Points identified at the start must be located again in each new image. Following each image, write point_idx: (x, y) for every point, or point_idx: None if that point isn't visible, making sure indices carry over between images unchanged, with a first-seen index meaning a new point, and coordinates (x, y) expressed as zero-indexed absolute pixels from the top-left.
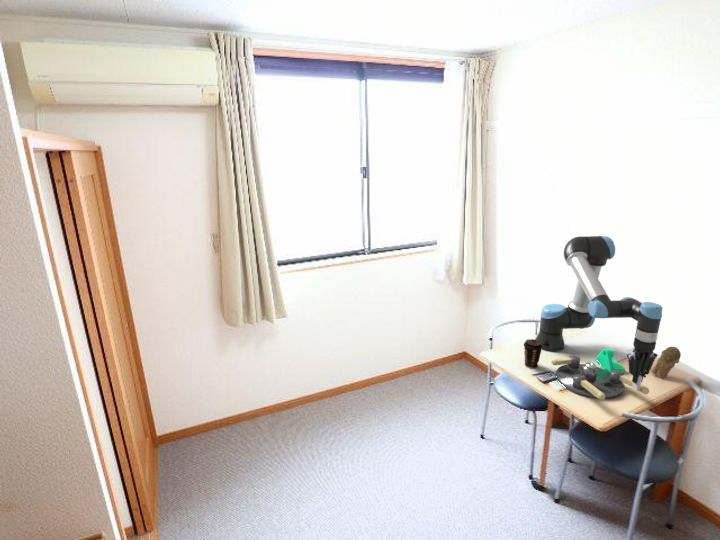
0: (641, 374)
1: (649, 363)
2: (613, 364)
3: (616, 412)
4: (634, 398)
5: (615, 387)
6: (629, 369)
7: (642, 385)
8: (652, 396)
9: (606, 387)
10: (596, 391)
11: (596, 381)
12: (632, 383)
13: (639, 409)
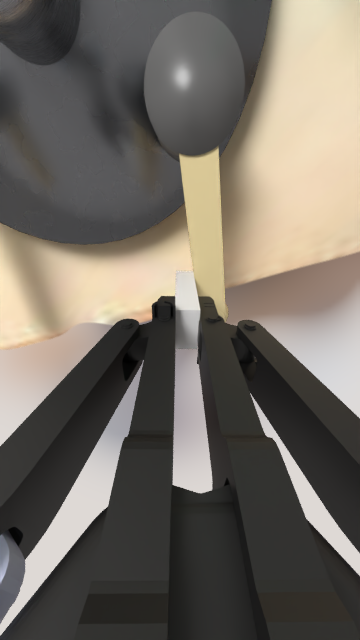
0: (199, 350)
1: (287, 441)
2: None
3: (68, 316)
4: None
5: (148, 182)
6: (98, 349)
7: (220, 297)
8: (279, 262)
9: (96, 169)
10: None
11: (68, 66)
12: (192, 260)
13: None
